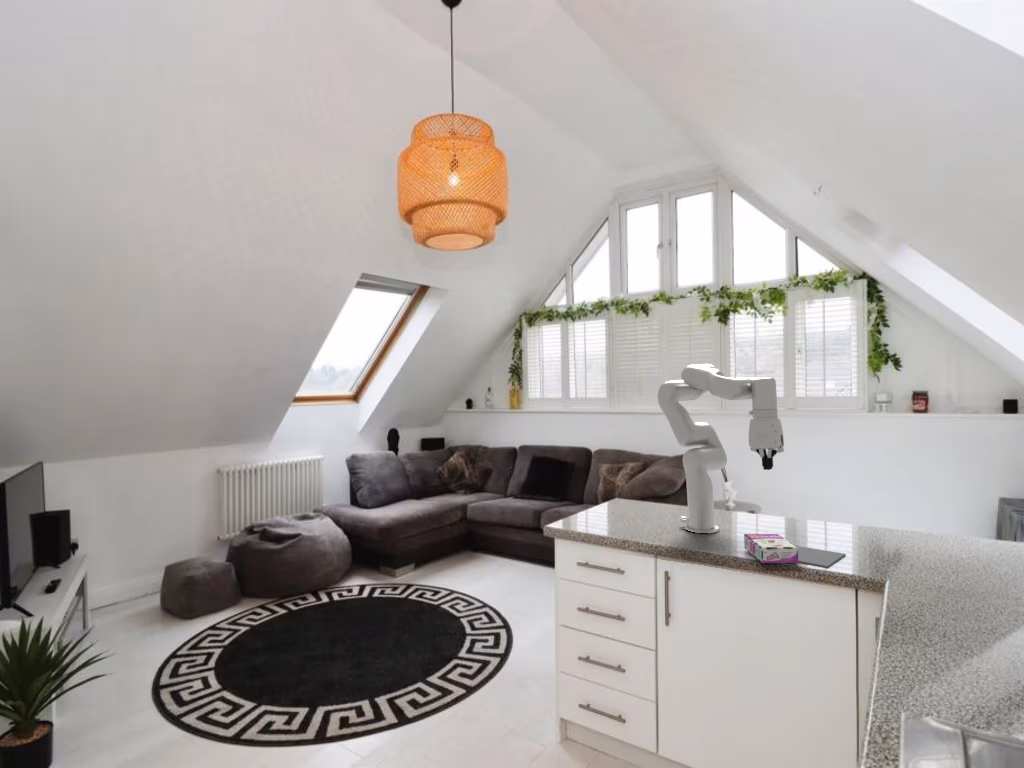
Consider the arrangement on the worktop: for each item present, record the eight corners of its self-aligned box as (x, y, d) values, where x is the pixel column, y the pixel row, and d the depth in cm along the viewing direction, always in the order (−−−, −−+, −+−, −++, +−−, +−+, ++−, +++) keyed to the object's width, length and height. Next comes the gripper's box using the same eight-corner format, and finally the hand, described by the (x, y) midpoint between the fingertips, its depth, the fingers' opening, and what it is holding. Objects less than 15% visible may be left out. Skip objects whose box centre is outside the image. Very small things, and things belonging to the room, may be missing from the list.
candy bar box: (743, 548, 188) (761, 563, 172) (743, 533, 188) (760, 547, 172) (778, 548, 187) (799, 563, 171) (777, 533, 187) (798, 546, 171)
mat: (760, 555, 182) (760, 553, 182) (780, 544, 193) (780, 543, 193) (827, 567, 167) (827, 566, 167) (845, 555, 178) (845, 553, 178)
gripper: (738, 415, 190) (740, 469, 190) (783, 415, 179) (786, 472, 179) (748, 413, 196) (750, 466, 195) (792, 413, 184) (795, 469, 184)
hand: (767, 469), depth 187 cm, fingers closed
